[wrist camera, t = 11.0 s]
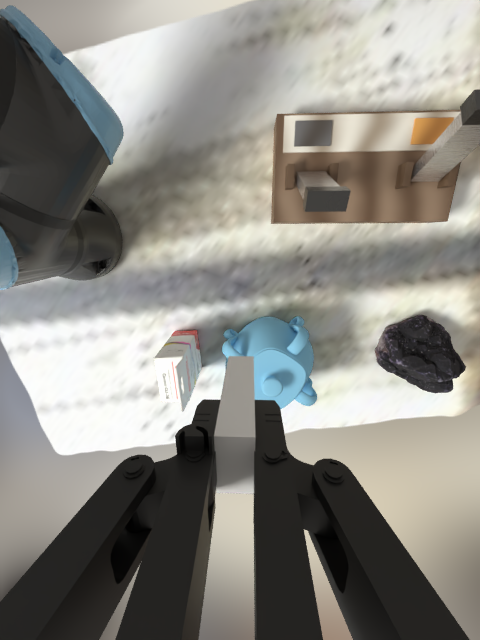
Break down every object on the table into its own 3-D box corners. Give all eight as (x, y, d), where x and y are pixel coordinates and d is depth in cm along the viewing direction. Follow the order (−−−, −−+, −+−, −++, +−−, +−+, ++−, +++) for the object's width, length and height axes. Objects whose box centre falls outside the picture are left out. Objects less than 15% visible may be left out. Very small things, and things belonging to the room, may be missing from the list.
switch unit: (271, 223, 45) (274, 221, 39) (274, 128, 41) (278, 107, 34) (426, 222, 44) (457, 220, 38) (446, 124, 40) (484, 102, 33)
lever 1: (293, 186, 39) (305, 211, 30) (294, 169, 37) (307, 190, 29) (324, 185, 39) (345, 211, 30) (327, 168, 37) (350, 190, 28)
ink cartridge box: (173, 330, 52) (144, 365, 38) (197, 329, 52) (178, 364, 38) (179, 369, 55) (154, 415, 41) (202, 368, 55) (185, 414, 41)
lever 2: (407, 183, 37) (476, 109, 26) (406, 169, 38) (474, 89, 26) (441, 183, 37) (525, 108, 26) (439, 168, 37) (522, 88, 26)
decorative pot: (223, 314, 51) (212, 342, 38) (307, 308, 50) (326, 334, 37) (231, 387, 56) (224, 434, 43) (308, 383, 55) (325, 430, 42)
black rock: (375, 312, 50) (397, 335, 41) (453, 310, 48) (495, 333, 39) (368, 372, 55) (386, 404, 46) (439, 371, 53) (473, 405, 44)
